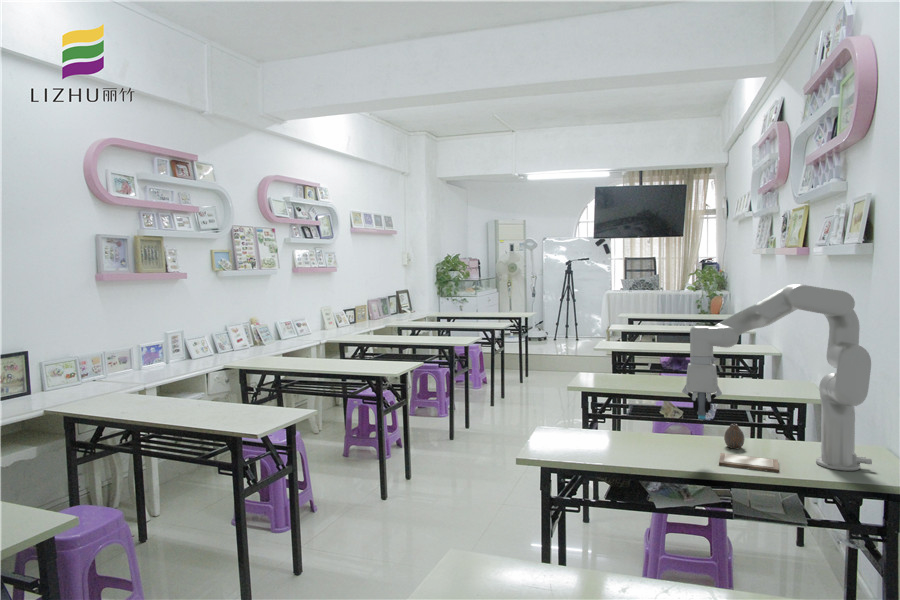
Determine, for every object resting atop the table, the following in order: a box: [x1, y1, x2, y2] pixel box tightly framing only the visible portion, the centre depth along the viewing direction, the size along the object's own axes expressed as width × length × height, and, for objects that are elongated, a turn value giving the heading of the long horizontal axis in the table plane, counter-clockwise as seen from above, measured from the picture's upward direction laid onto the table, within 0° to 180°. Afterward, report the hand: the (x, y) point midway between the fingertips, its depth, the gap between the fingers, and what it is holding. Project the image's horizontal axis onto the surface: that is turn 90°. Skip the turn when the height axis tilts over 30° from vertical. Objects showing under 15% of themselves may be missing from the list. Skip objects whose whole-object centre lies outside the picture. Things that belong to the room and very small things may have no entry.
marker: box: [696, 392, 708, 420], centre depth 207 cm, size 3×3×12 cm
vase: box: [723, 423, 745, 449], centre depth 221 cm, size 7×7×9 cm
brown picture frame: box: [718, 452, 780, 473], centre depth 201 cm, size 18×12×1 cm, turn 62°
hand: (701, 411), depth 207 cm, fingers closed on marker, 3 cm apart
